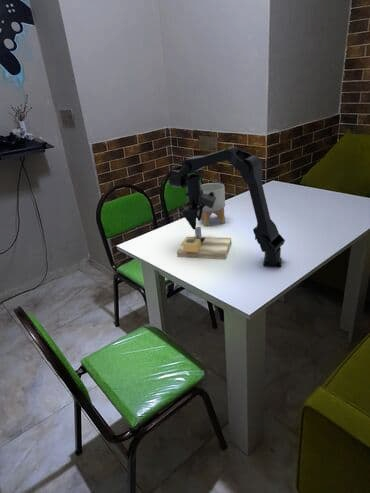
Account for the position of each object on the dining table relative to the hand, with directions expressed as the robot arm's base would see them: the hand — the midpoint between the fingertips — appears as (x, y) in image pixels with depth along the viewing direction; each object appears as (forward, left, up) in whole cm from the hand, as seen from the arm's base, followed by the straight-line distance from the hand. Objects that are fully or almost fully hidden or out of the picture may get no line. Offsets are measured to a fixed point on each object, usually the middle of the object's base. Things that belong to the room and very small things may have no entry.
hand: (197, 224), depth 145 cm
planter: (+26, -1, -10) cm, 28 cm away
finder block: (-9, 0, -7) cm, 11 cm away
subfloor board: (-4, -4, -10) cm, 11 cm away
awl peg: (0, 0, -10) cm, 10 cm away
